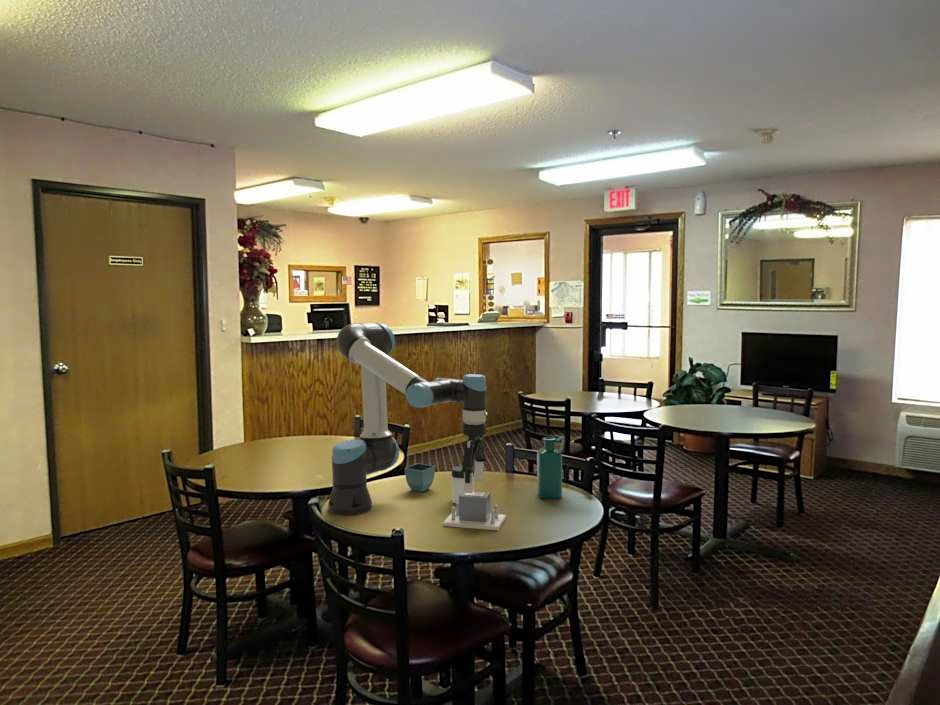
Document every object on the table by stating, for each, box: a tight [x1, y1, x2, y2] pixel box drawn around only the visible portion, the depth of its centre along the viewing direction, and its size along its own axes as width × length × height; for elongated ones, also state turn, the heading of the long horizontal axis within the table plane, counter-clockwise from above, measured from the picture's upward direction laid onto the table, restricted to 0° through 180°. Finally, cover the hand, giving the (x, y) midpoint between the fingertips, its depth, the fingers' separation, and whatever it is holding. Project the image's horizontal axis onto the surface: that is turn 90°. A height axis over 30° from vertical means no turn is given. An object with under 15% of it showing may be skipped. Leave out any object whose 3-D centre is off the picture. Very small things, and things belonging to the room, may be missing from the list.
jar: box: [451, 465, 475, 504], centre depth 233 cm, size 9×8×12 cm
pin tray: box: [442, 502, 507, 531], centre depth 211 cm, size 18×12×5 cm, turn 75°
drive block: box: [459, 491, 491, 522], centre depth 211 cm, size 9×6×8 cm, turn 75°
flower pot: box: [404, 462, 436, 493], centre depth 248 cm, size 9×9×9 cm
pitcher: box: [536, 435, 566, 500], centre depth 239 cm, size 10×8×22 cm
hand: (473, 486), depth 210 cm, fingers open, 13 cm apart
